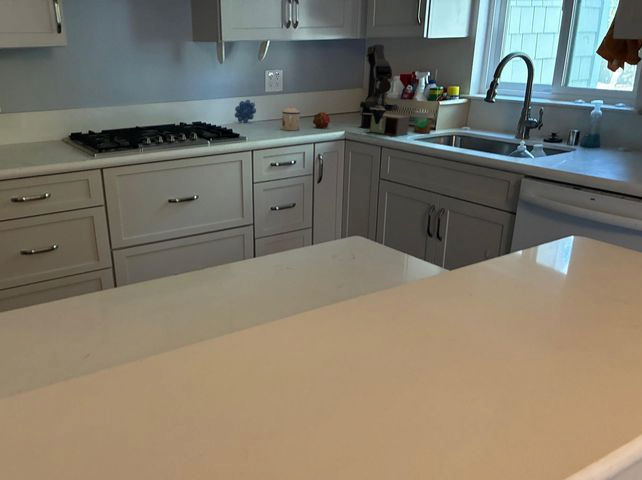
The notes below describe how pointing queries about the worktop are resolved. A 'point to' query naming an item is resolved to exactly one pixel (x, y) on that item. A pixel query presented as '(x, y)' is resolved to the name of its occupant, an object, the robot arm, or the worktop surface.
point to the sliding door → (378, 125)
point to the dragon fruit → (321, 120)
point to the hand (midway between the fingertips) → (376, 124)
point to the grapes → (245, 111)
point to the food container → (423, 122)
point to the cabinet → (394, 125)
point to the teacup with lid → (290, 119)
